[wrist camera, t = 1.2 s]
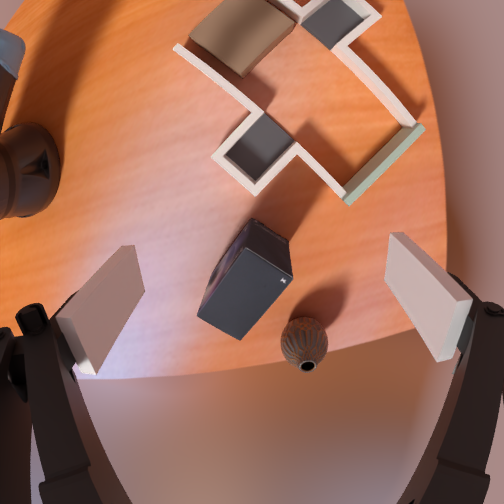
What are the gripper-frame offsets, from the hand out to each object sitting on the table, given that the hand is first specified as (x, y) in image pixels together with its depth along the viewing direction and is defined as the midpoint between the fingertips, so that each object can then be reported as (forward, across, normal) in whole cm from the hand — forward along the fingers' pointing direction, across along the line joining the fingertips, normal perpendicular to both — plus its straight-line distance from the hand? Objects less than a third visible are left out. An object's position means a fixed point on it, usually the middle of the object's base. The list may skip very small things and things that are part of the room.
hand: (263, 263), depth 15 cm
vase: (+25, +5, -23) cm, 34 cm away
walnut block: (+25, -1, +19) cm, 31 cm away
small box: (+25, -2, -11) cm, 27 cm away
